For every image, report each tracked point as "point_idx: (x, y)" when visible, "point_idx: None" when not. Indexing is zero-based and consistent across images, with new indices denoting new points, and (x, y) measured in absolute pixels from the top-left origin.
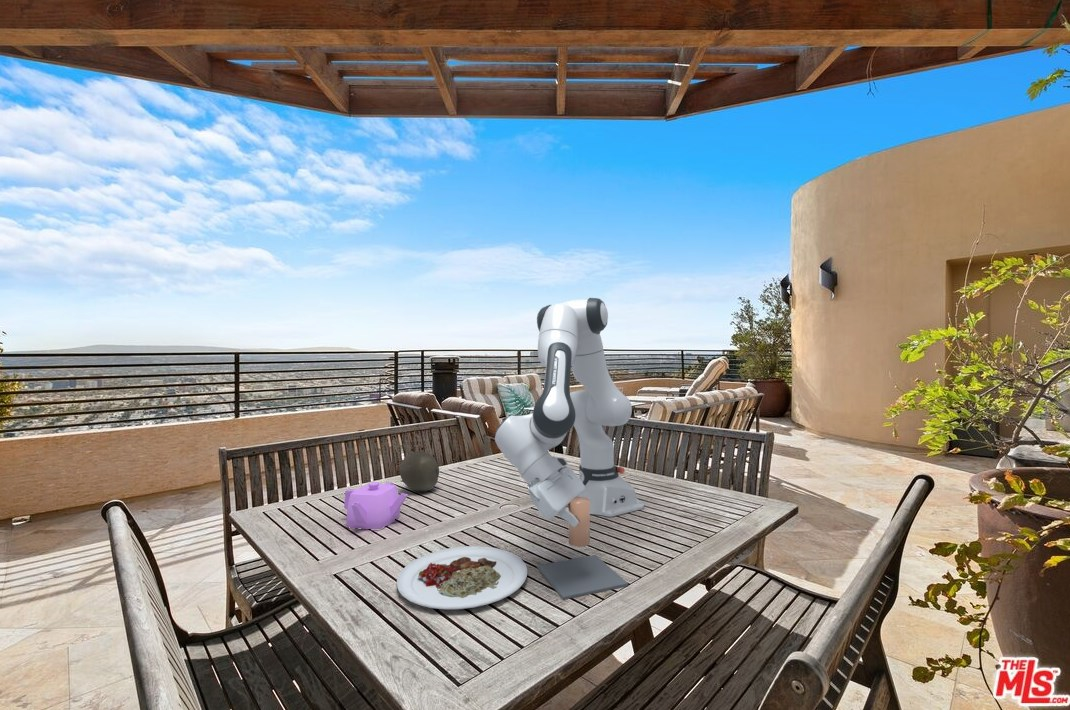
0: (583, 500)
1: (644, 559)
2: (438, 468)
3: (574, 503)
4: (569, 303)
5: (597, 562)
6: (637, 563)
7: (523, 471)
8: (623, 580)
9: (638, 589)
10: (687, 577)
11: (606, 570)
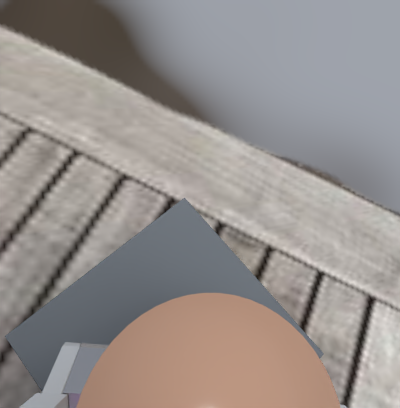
0: (214, 370)
1: (3, 176)
2: None
3: None
4: None
5: (72, 311)
6: (37, 192)
7: None
8: (173, 211)
9: (192, 175)
10: (97, 78)
11: (125, 268)
